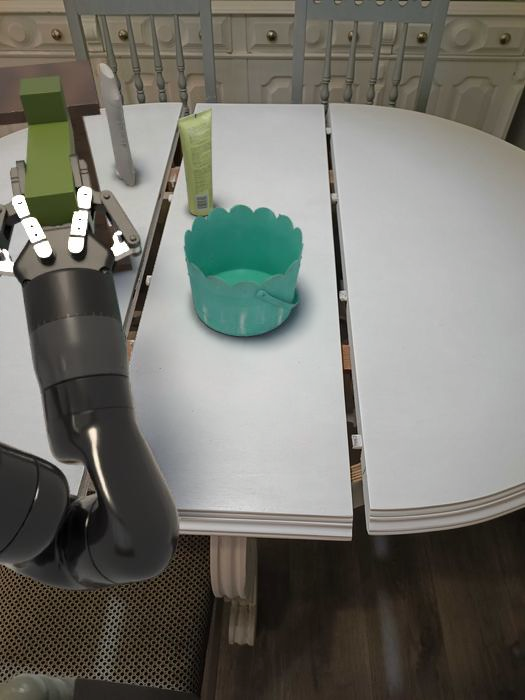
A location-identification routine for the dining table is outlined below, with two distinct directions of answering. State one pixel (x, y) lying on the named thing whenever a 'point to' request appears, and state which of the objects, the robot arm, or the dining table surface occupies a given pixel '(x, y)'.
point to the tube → (198, 160)
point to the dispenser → (117, 126)
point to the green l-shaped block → (48, 152)
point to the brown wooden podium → (81, 100)
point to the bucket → (243, 269)
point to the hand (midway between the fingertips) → (48, 163)
